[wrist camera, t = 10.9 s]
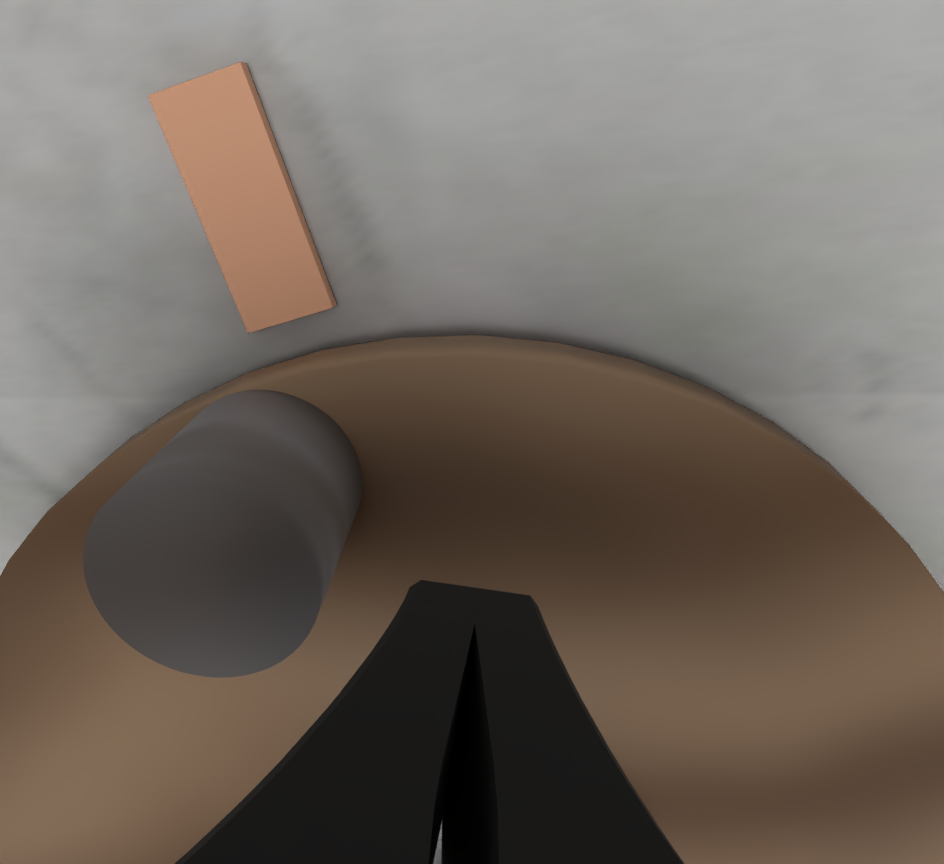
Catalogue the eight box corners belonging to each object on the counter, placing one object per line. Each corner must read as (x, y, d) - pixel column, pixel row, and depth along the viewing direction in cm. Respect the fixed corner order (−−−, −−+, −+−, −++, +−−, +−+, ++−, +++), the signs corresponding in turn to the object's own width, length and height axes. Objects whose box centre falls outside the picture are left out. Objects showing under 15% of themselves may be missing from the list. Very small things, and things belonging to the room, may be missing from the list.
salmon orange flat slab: (779, 951, 19) (789, 980, 19) (241, 972, 21) (232, 1000, 20) (816, -19, 11) (834, -27, 11) (-66, 108, 13) (-96, 107, 12)
